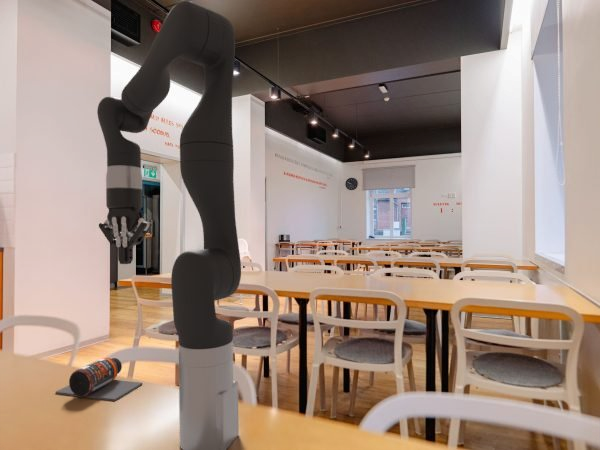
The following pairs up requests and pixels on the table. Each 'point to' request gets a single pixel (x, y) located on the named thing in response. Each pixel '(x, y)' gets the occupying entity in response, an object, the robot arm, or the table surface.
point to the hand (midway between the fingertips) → (125, 263)
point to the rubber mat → (107, 390)
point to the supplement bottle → (94, 376)
